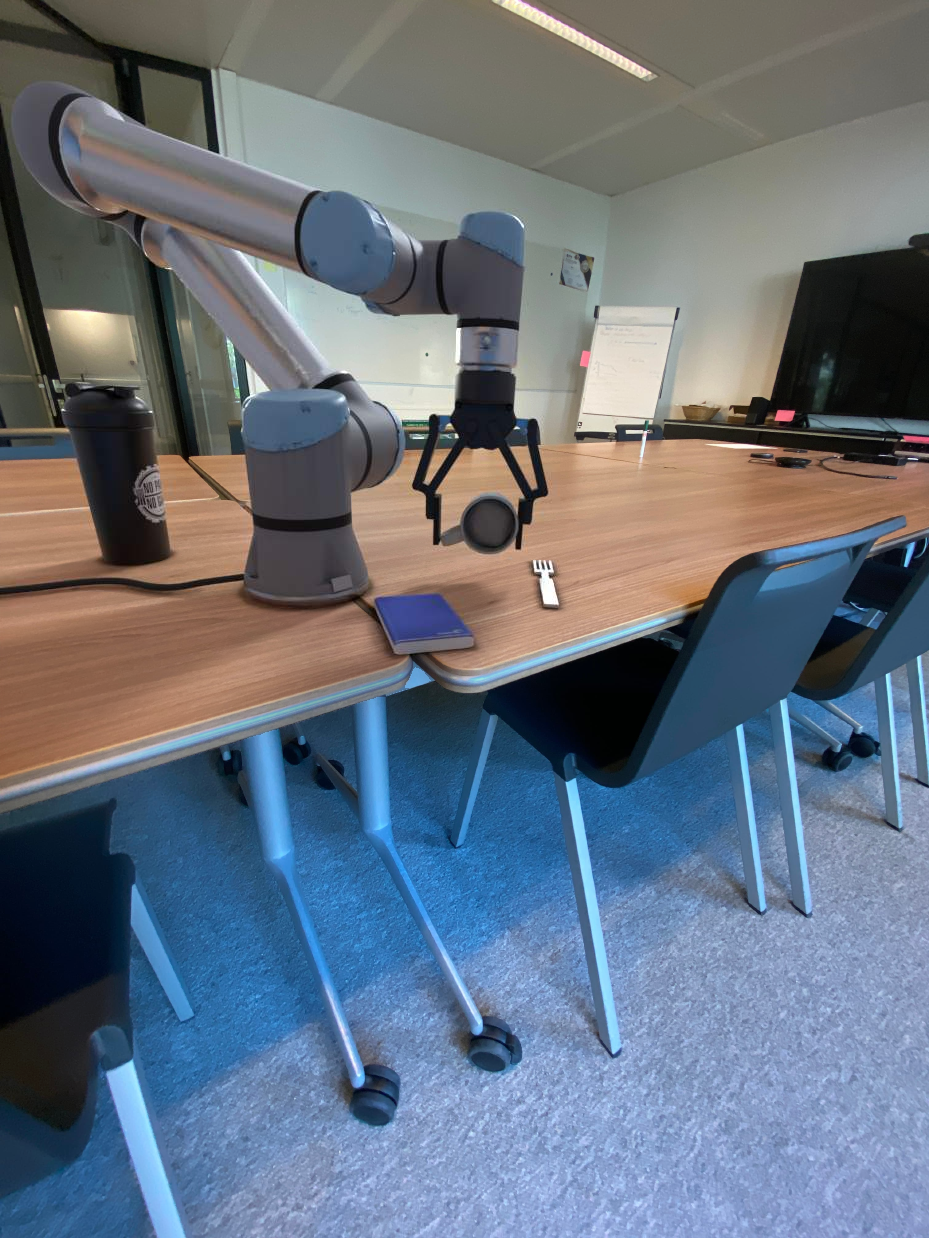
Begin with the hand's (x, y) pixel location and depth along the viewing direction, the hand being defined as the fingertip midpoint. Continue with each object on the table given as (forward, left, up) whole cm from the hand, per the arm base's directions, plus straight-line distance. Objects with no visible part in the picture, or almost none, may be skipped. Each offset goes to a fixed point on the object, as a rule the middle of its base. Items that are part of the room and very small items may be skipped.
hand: (477, 545), depth 74 cm
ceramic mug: (0, 0, 0) cm, 1 cm away
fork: (+10, -1, -5) cm, 11 cm away
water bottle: (-49, -1, -5) cm, 49 cm away
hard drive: (-5, -19, -5) cm, 20 cm away
